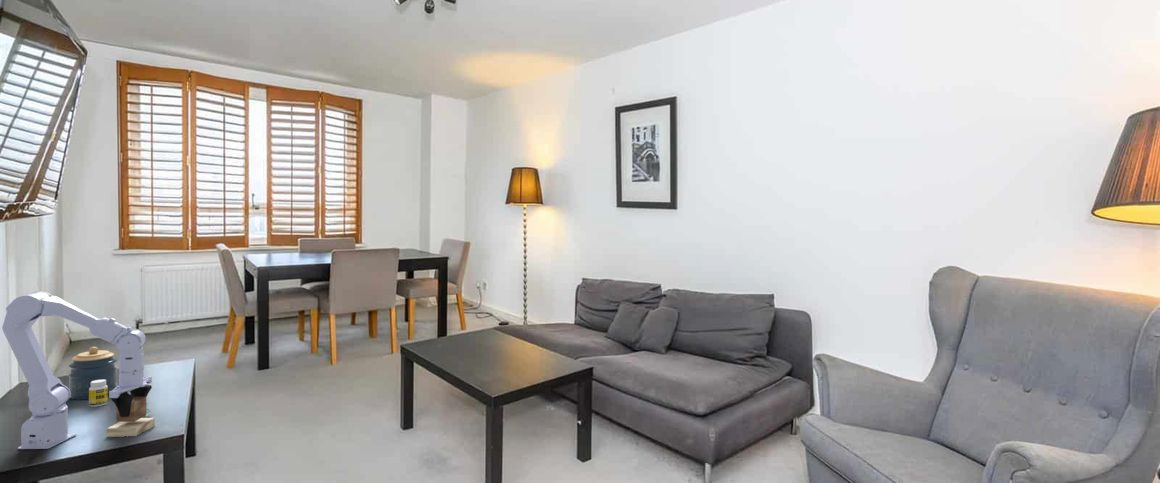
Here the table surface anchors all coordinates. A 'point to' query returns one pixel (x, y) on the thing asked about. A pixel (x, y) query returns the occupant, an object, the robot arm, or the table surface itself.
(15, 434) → the table surface
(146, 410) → the pacifier
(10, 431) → the table surface
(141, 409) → the walnut cube
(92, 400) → the supplement bottle
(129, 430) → the maple block
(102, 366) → the canister
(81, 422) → the table surface
